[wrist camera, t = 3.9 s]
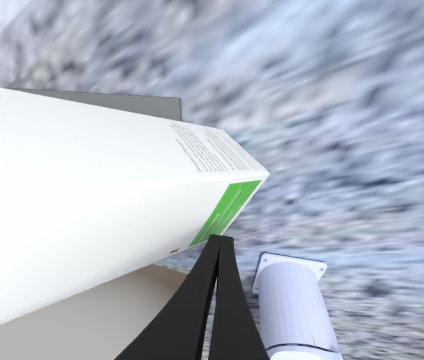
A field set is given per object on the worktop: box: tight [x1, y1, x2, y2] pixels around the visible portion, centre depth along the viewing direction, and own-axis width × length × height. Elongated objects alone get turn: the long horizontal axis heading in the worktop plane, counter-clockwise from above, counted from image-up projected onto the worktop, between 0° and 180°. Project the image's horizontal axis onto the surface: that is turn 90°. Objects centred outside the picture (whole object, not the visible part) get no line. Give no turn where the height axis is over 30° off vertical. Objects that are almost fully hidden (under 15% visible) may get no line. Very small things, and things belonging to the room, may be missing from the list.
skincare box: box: [0, 88, 269, 325], centre depth 11 cm, size 8×7×16 cm
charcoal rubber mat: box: [6, 88, 182, 122], centre depth 20 cm, size 14×18×1 cm
